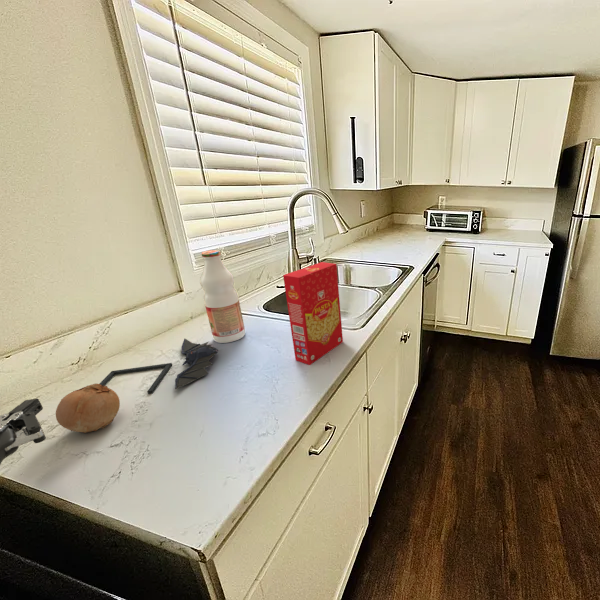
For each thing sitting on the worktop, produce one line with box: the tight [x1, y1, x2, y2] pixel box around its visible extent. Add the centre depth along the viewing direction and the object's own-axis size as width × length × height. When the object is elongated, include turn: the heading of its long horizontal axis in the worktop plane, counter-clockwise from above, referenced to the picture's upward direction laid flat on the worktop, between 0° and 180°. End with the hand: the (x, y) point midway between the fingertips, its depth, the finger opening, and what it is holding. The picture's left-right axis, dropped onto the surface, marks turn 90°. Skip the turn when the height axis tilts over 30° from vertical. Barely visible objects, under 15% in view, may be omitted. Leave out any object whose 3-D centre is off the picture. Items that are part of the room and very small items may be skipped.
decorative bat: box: [174, 338, 219, 390], centre depth 91 cm, size 30×4×10 cm
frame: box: [99, 362, 173, 395], centre depth 82 cm, size 14×13×1 cm
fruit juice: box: [199, 249, 246, 344], centre depth 100 cm, size 9×9×28 cm
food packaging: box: [282, 261, 344, 366], centre depth 92 cm, size 15×5×25 cm, turn 152°
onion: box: [55, 383, 121, 434], centre depth 67 cm, size 10×9×10 cm
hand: (34, 403), depth 54 cm, fingers closed
